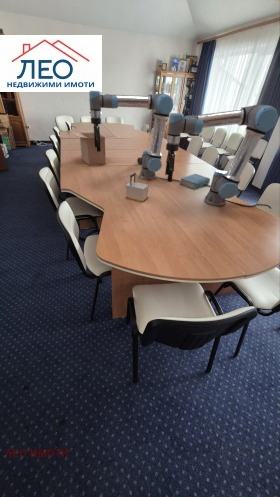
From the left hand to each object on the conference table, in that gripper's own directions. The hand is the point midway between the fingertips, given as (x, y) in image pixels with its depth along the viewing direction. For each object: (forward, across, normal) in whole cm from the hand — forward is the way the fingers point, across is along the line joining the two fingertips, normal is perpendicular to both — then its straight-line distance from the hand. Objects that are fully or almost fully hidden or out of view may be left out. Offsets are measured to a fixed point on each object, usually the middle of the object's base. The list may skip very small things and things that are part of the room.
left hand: (97, 149), depth 170 cm
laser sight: (+27, -51, +58) cm, 82 cm away
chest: (+27, +32, +24) cm, 49 cm away
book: (+27, +10, +84) cm, 89 cm away
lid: (+18, +32, +24) cm, 44 cm away
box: (+27, -66, +2) cm, 71 cm away
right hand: (+7, +50, +40) cm, 64 cm away
